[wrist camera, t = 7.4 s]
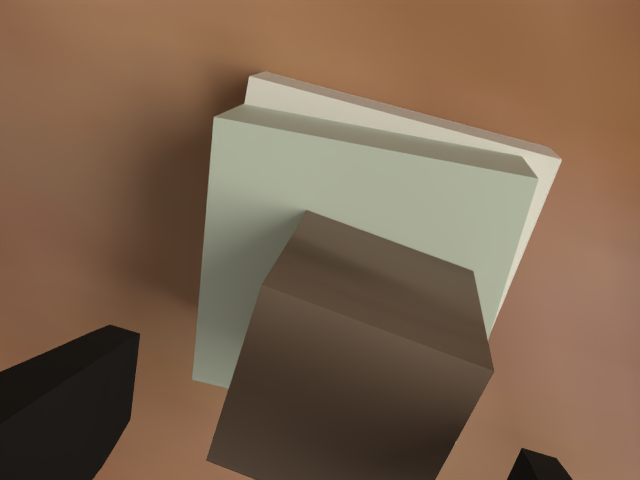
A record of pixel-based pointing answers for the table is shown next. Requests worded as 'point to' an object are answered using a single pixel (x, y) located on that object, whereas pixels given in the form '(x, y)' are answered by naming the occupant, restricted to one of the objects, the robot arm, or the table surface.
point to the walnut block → (354, 362)
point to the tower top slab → (344, 210)
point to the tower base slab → (405, 132)
